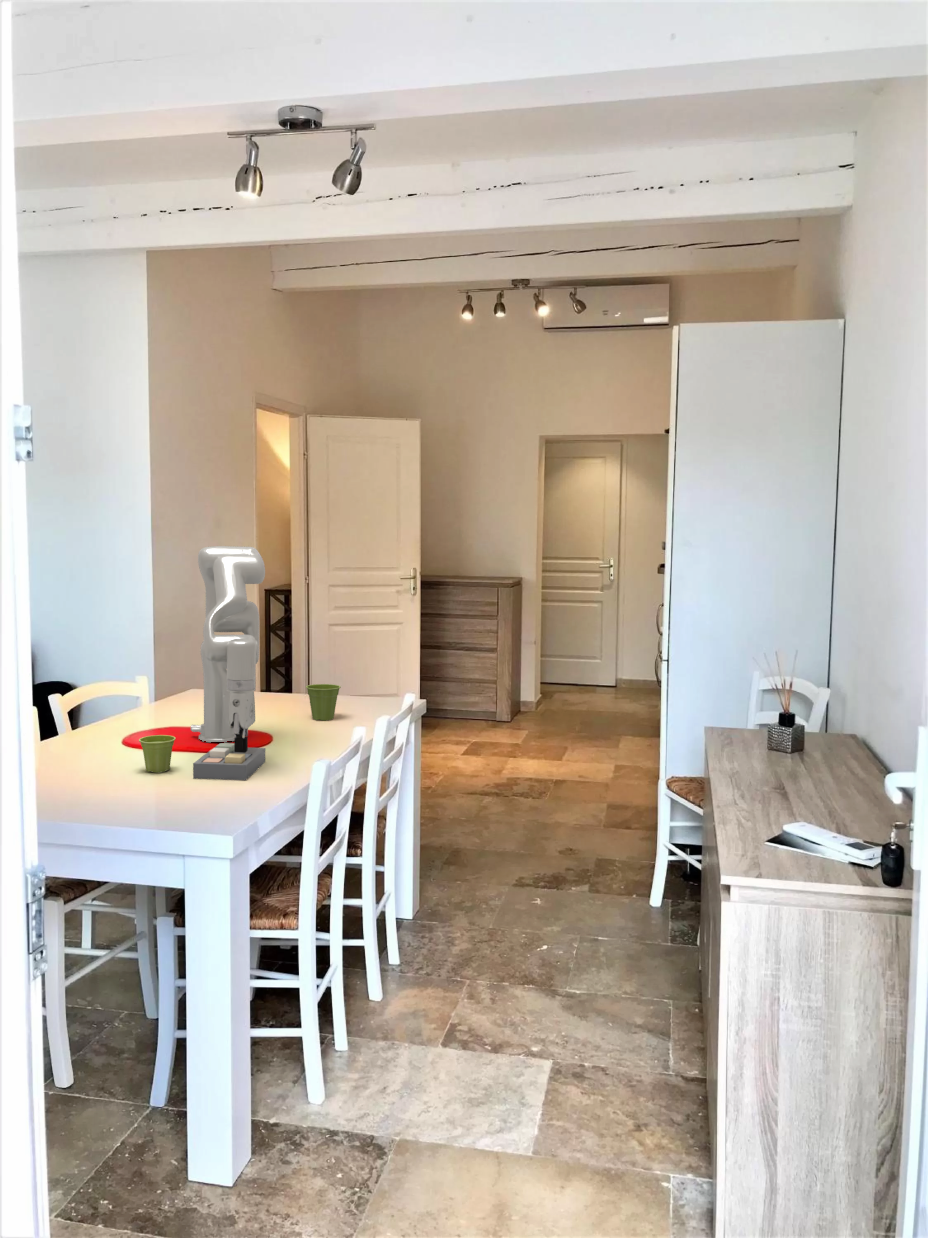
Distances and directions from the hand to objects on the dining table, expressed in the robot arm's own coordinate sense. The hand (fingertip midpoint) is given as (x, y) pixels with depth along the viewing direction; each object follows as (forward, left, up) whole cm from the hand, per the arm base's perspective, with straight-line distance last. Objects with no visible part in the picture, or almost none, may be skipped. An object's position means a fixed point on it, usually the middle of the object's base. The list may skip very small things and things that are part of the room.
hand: (241, 751), depth 275 cm
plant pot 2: (+8, +72, -5) cm, 73 cm away
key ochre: (0, -7, -3) cm, 7 cm away
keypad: (-3, -1, -5) cm, 6 cm away
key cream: (-6, -1, -3) cm, 6 cm away
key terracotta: (-6, -7, -4) cm, 10 cm away
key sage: (-6, +5, -3) cm, 8 cm away
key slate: (0, -1, -4) cm, 4 cm away
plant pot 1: (-22, -4, -5) cm, 23 cm away
